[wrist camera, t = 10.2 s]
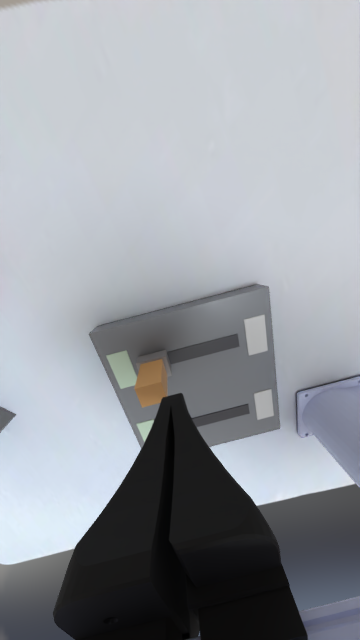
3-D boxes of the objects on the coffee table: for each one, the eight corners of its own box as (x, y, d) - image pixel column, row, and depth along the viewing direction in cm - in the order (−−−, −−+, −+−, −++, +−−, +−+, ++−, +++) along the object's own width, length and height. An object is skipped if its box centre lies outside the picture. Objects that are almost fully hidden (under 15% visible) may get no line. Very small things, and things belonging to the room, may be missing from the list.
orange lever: (165, 349, 17) (165, 378, 12) (171, 368, 17) (173, 401, 13) (137, 356, 17) (128, 388, 12) (144, 375, 17) (137, 410, 13)
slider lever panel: (257, 284, 18) (269, 286, 16) (270, 415, 23) (280, 429, 21) (97, 326, 18) (88, 334, 16) (149, 446, 23) (147, 463, 21)
